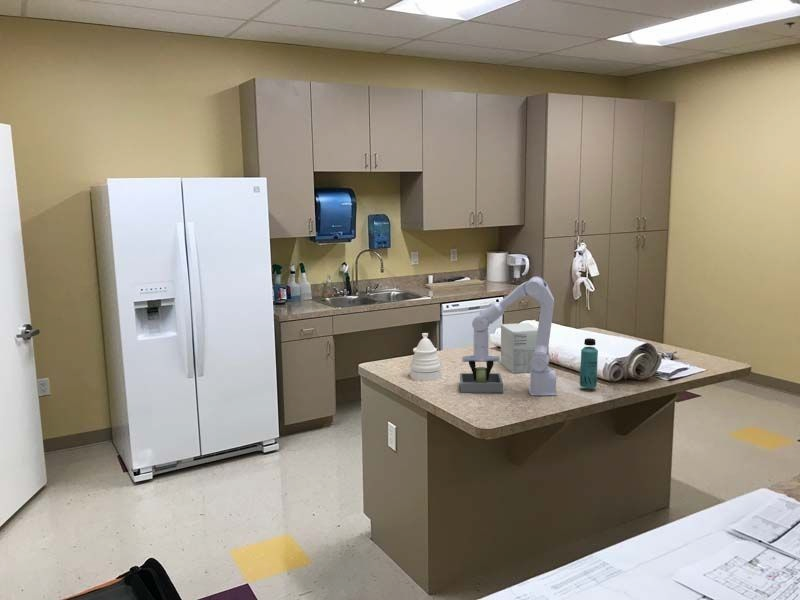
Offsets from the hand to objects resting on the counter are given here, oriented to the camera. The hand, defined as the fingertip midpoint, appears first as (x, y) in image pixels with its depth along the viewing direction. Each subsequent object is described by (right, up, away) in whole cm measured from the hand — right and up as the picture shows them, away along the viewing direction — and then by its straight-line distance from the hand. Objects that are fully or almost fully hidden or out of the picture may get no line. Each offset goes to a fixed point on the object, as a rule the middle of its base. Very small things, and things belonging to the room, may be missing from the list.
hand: (480, 379), depth 255 cm
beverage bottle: (+41, -4, -4) cm, 41 cm away
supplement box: (+21, +2, +29) cm, 36 cm away
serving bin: (0, -3, +1) cm, 3 cm away
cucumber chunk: (0, -1, 0) cm, 2 cm away
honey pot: (-21, -1, +18) cm, 27 cm away
